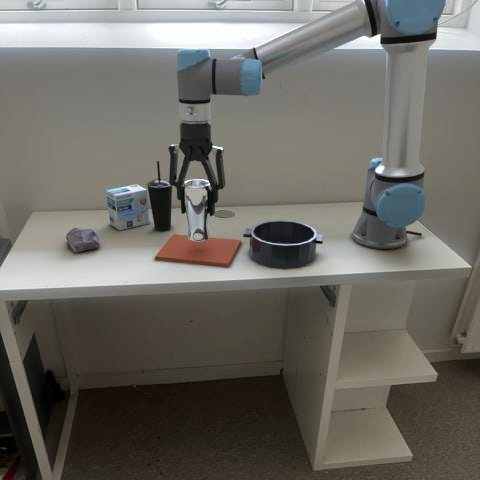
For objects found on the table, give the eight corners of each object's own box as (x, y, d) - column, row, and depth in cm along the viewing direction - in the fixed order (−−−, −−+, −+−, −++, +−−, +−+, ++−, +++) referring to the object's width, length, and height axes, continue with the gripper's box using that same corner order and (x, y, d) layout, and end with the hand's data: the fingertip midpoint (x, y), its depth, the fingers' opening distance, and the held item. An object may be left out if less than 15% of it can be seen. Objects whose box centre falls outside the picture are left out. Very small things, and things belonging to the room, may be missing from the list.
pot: (323, 245, 143) (325, 223, 140) (318, 272, 129) (321, 248, 125) (250, 238, 147) (251, 217, 143) (238, 264, 132) (238, 241, 129)
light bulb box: (119, 231, 151) (114, 195, 145) (109, 224, 155) (104, 190, 150) (150, 223, 157) (147, 189, 151) (140, 217, 161) (136, 183, 155)
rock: (91, 235, 148) (89, 220, 145) (103, 250, 139) (101, 234, 137) (63, 241, 144) (60, 226, 142) (74, 256, 136) (71, 240, 133)
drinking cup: (171, 233, 150) (166, 165, 139) (146, 231, 151) (140, 163, 140) (178, 224, 156) (175, 158, 145) (155, 222, 157) (149, 157, 147)
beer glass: (188, 244, 133) (185, 188, 125) (184, 234, 139) (181, 179, 131) (213, 241, 135) (213, 186, 127) (208, 231, 140) (207, 178, 132)
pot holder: (241, 243, 144) (241, 240, 143) (228, 267, 131) (228, 263, 130) (174, 237, 147) (173, 233, 147) (155, 259, 134) (154, 256, 134)
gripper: (150, 121, 120) (157, 214, 132) (232, 126, 116) (231, 221, 129) (161, 116, 126) (166, 205, 138) (238, 120, 123) (238, 211, 135)
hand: (198, 213), depth 133 cm, fingers closed on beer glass, 7 cm apart
